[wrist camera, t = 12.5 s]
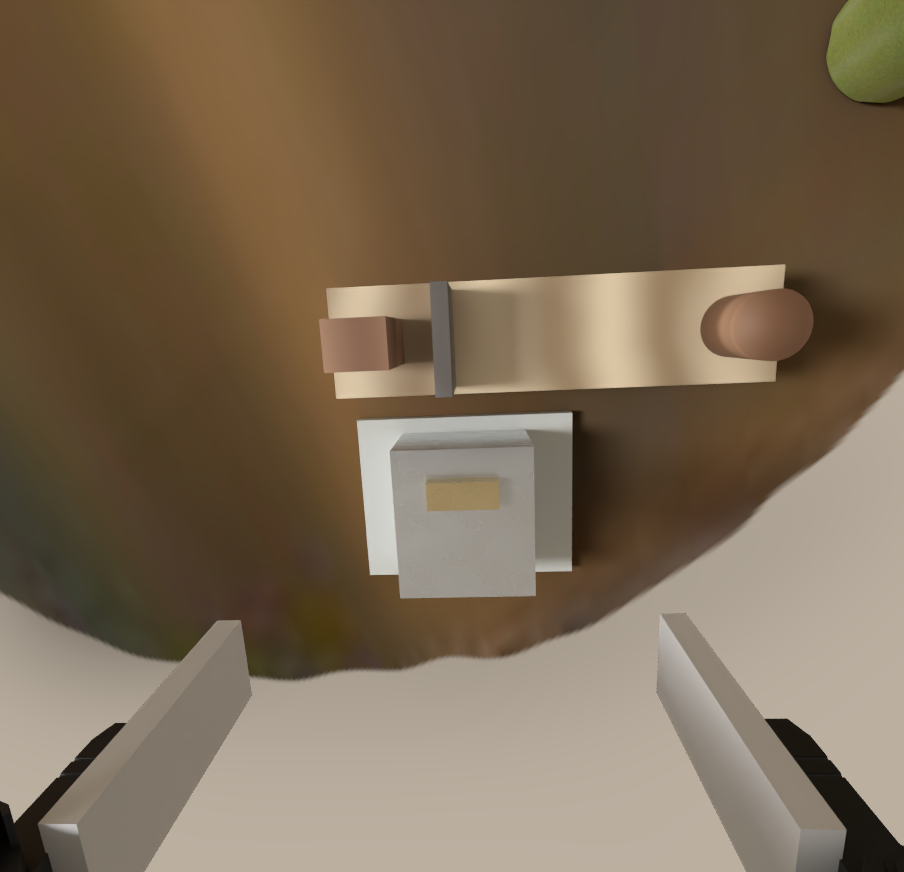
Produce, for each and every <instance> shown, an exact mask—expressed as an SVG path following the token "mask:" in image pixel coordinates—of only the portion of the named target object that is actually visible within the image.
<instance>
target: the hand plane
mask: <svg viewBox="0 0 904 872" xmlns="http://www.w3.org/2000/svg"><path fill="white" fill-rule="evenodd" d="M784 275H785V265H767V266H748V267H729V268H710V269H690V270H671V271H652V272H633V273H614V274H595V275H576V276H557V277H537V278H518V279H499V280H480V281H461V282H447V281H439V282H429V283H423V284H404V285H384V286H365V287H346V288H327V289H326V292H327V302H328V313H329V319H319V325H320V335H321V345H322V356H323V366H324V373H334V377H335V388H336V399H342V398H367V397H393V396H418V395H435V398H441V397H453V394H468V393H494V392H519V391H544V390H569V389H594V388H620V387H645V386H670V385H695V384H720V383H746V382H771V381H775V379H776V367H777V361H779V360H783V359H786V358H788V357H790V356H792V355H794V354H795V353H797V352H798V351H799V350H800V349H801V348H802V347H803V346H804V345H805V344H806V342H807V341H808V339H809V337H810V335H811V332H812V329H813V321H814V318H813V312H812V309H811V306H810V304H809V303H808V301H807V300H806V299H805V298H804V297H803V296H802V295H801V294H799V293H798V292H796V291H794V290H790V289H785V288H783V287H784Z"/></svg>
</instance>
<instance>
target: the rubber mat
mask: <svg viewBox="0 0 904 872" xmlns="http://www.w3.org/2000/svg"><path fill="white" fill-rule="evenodd" d="M357 427H358V439H359V450H360V462H361V474H362V485H363V497H364V509H365V520H366V532H367V544H368V555H369V567H370V575H390V574H399V573H398V559H397V545H396V532H395V518H394V505H393V491H392V477H391V464H390V450H391V449H392V447H393V446H394V445H395V443H396V442H397V440H398V439H399V438H400V436H401V435H402V434H403V433H431V432H459V431H487V430H515V429H525V430H526V432H527V434H528V436H529V438H530V440H531V442H532V444H533V446H534V501H535V572H544V571H572V412H571V411H550V412H523V413H496V414H470V415H443V416H416V417H389V418H362V419H359V420H357Z"/></svg>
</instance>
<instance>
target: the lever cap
mask: <svg viewBox="0 0 904 872" xmlns="http://www.w3.org/2000/svg"><path fill="white" fill-rule="evenodd" d="M390 464H391V477H392V491H393V505H394V518H395V532H396V545H397V559H398V573H399V586H400V598H443V597H502V596H536V581H535V501H534V446H533V444H532V442H531V440H530V438H529V436H528V434H527V432H526V430H525V429H515V430H487V431H459V432H431V433H403V434H402V435H401V436H400V438H399V439H398V440H397V442H396V443H395V445H394V446H393V447H392V449H391V450H390Z"/></svg>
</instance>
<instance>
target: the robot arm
mask: <svg viewBox="0 0 904 872" xmlns="http://www.w3.org/2000/svg"><path fill="white" fill-rule="evenodd" d="M657 671H658V672H657V694H658V696H659V698H660V700H661V702H662V704H663V706H664V708H665V710H666V712H667V714H668V716H669V718H670V720H671V722H672V724H673V726H674V728H675V730H676V732H677V734H678V736H679V738H680V740H681V742H682V744H683V746H684V748H685V750H686V752H687V754H688V756H689V758H690V760H691V762H692V764H693V766H694V768H695V770H696V772H697V774H698V776H699V778H700V780H701V782H702V784H703V786H704V788H705V790H706V792H707V794H708V796H709V798H710V800H711V802H712V804H713V806H714V808H715V810H716V812H717V814H718V816H719V818H720V820H721V822H722V824H723V826H724V828H725V830H726V832H727V834H728V836H729V838H730V840H731V842H732V844H733V846H734V848H735V850H736V852H737V854H738V856H739V858H740V860H741V862H742V864H743V866H744V868H745V870H746V872H904V846H902V845H900V844H899V843H898V842H897V840H896V839H895V838H894V837H893V836H892V834H891V833H890V832H889V831H888V830H887V828H886V827H885V826H884V825H883V823H882V822H881V821H880V820H879V819H878V817H877V816H876V815H875V814H874V813H873V811H872V810H871V809H870V808H869V807H868V805H867V804H866V803H865V802H864V800H863V799H862V798H861V797H860V796H859V794H858V793H857V792H856V791H855V790H854V788H853V787H852V786H851V785H850V784H849V782H848V781H847V780H846V779H845V778H843V777H842V776H841V773H840V771H839V770H838V769H837V768H836V767H835V765H834V764H833V763H832V762H831V761H830V760H828V758H827V756H826V754H825V753H824V752H823V751H822V750H821V748H820V747H819V746H818V745H817V743H816V742H815V741H814V740H813V739H812V737H811V736H810V735H808V734H807V733H805V732H804V731H803V730H802V729H800V728H799V727H798V726H796V725H795V724H793V723H792V722H791V721H790V720H788V719H764V718H763V717H762V716H761V714H760V712H759V711H758V710H757V709H756V707H755V706H754V704H753V703H752V702H751V700H750V699H749V698H748V696H747V695H746V694H745V692H744V691H743V690H742V689H741V687H740V686H739V684H738V683H737V682H736V680H735V679H734V678H733V676H732V675H731V673H730V672H729V671H728V669H727V668H726V667H725V665H724V664H723V663H722V662H721V660H720V659H719V657H718V656H717V655H716V653H715V652H714V651H713V649H712V648H711V647H710V645H709V644H708V642H707V641H706V640H705V638H704V637H703V636H702V634H701V633H700V632H699V630H698V629H697V628H696V626H695V625H694V624H693V622H692V621H691V620H690V618H689V617H688V616H687V615H686V613H676V614H660V627H659V650H658V670H657ZM251 696H252V694H251V686H250V679H249V673H248V666H247V660H246V653H245V646H244V640H243V633H242V626H241V620H233V621H217V622H216V623H215V624H214V625H213V626H212V627H211V628H210V630H209V631H208V632H207V633H206V634H205V635H204V636H203V637H202V639H201V640H200V641H199V642H198V643H197V644H196V645H195V646H194V648H193V649H192V650H191V651H190V652H189V653H188V654H187V656H186V657H185V658H184V659H183V660H182V661H181V662H180V663H179V665H178V666H177V667H176V668H175V669H174V670H173V671H172V673H171V674H170V675H169V676H168V677H167V678H166V679H165V681H164V682H163V683H162V684H161V685H160V686H159V687H158V688H157V689H156V691H155V692H154V693H153V694H152V695H151V696H150V698H149V699H148V700H147V701H146V702H145V703H144V704H143V706H142V707H141V708H140V709H139V710H138V711H137V712H136V713H135V714H134V715H133V717H132V718H131V719H130V720H129V721H128V722H127V723H115V724H113V725H112V726H111V727H109V728H108V729H106V730H105V731H104V732H102V733H101V734H99V735H98V736H96V737H95V738H94V739H92V740H91V742H90V743H89V744H88V745H87V746H86V747H85V748H84V749H83V750H82V751H81V752H80V753H79V754H78V756H77V757H76V758H75V761H74V762H71V763H70V764H69V765H68V766H67V767H66V768H65V770H63V772H62V773H61V775H60V777H59V778H56V779H55V780H54V781H53V782H52V783H51V784H50V786H49V787H48V788H47V789H46V790H45V791H44V792H43V793H42V794H41V795H40V797H38V798H37V799H36V800H35V802H34V803H33V804H32V805H31V806H30V807H29V808H28V809H27V810H26V811H25V812H24V813H23V814H22V816H21V817H20V818H19V819H18V820H17V821H16V822H15V823H14V822H13V819H12V815H11V811H10V808H9V805H8V804H6V803H3V802H1V801H0V872H144V871H145V870H146V868H147V866H148V865H149V863H150V862H151V860H152V858H153V857H154V855H155V853H156V851H157V850H158V848H159V847H160V845H161V843H162V842H163V840H164V838H165V837H166V835H167V834H168V832H169V830H170V829H171V827H172V825H173V824H174V822H175V821H176V819H177V817H178V816H179V814H180V812H181V811H182V809H183V807H184V806H185V804H186V803H187V801H188V799H189V797H190V796H191V794H192V793H193V791H194V789H195V788H196V786H197V784H198V783H199V781H200V779H201V778H202V776H203V775H204V773H205V771H206V769H207V768H208V766H209V765H210V763H211V761H212V760H213V758H214V756H215V755H216V753H217V752H218V750H219V748H220V747H221V745H222V743H223V742H224V740H225V739H226V737H227V735H228V733H229V732H230V730H231V729H232V727H233V725H234V723H235V722H236V720H237V719H238V717H239V716H240V714H241V712H242V711H243V709H244V707H245V706H246V704H247V702H248V701H249V699H250V697H251Z"/></svg>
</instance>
